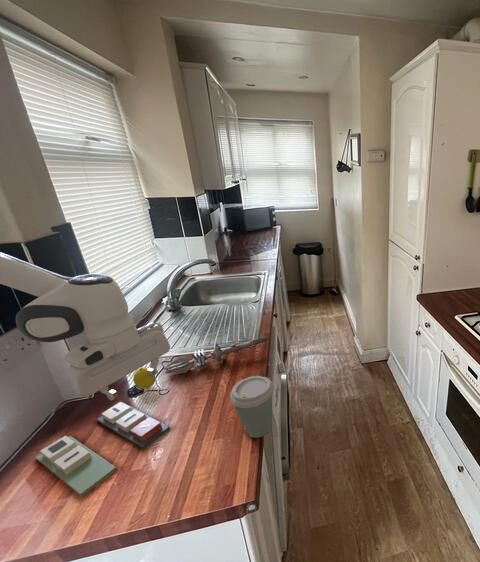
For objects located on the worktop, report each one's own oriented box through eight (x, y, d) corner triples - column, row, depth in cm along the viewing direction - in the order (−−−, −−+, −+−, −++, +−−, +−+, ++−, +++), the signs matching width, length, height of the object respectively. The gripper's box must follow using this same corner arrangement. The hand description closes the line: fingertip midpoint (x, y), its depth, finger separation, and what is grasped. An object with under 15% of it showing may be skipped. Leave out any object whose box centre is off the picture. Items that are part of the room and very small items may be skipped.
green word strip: (36, 459, 77) (31, 451, 76) (71, 438, 83) (67, 430, 82) (81, 497, 68) (76, 488, 67) (117, 469, 74) (113, 461, 73)
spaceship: (268, 339, 110) (264, 323, 115) (158, 375, 99) (159, 355, 104) (272, 351, 116) (268, 335, 121) (169, 386, 105) (169, 367, 110)
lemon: (161, 386, 101) (154, 366, 98) (142, 396, 97) (134, 376, 93) (153, 380, 104) (146, 360, 101) (135, 390, 99) (126, 370, 96)
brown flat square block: (131, 435, 82) (129, 429, 81) (151, 421, 86) (149, 416, 85) (143, 441, 80) (140, 436, 79) (162, 427, 84) (160, 422, 83)
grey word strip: (97, 421, 88) (94, 414, 87) (124, 404, 93) (121, 397, 92) (143, 449, 79) (140, 441, 78) (170, 429, 85) (167, 421, 83)
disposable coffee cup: (249, 413, 89) (239, 371, 83) (286, 413, 89) (278, 371, 83) (232, 445, 79) (220, 400, 74) (273, 445, 79) (264, 400, 73)
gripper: (152, 317, 83) (167, 359, 88) (54, 360, 66) (80, 409, 71) (167, 321, 80) (181, 364, 86) (69, 367, 63) (94, 418, 68)
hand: (134, 385), depth 78 cm, fingers open, 8 cm apart
